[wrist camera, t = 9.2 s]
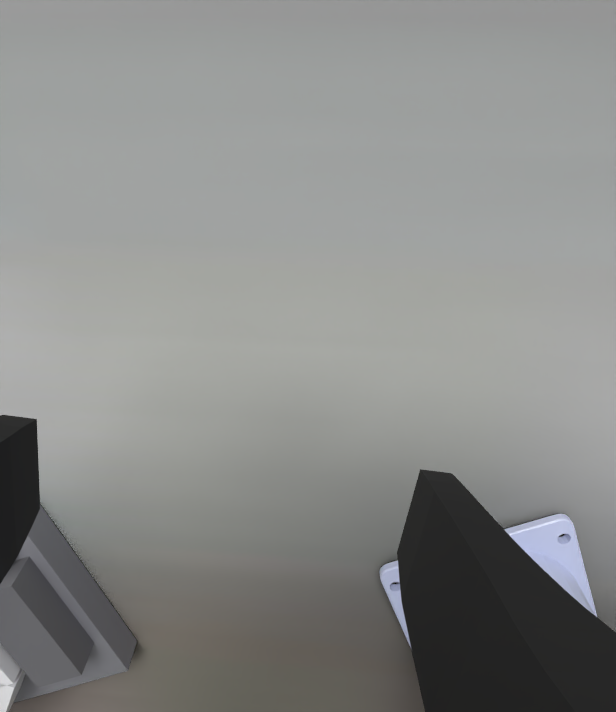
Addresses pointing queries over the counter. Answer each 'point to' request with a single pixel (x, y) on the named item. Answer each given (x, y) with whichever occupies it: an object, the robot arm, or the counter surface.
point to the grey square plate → (55, 621)
